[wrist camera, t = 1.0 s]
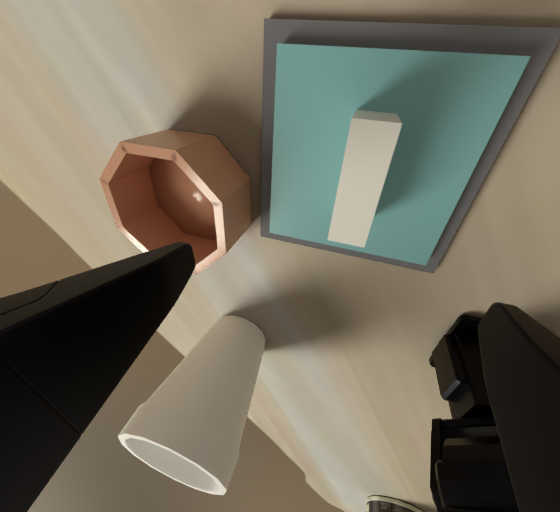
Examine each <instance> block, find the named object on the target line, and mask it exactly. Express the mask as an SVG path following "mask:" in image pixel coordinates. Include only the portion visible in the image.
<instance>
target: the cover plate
mask: <svg viewBox="0 0 560 512" xmlns="http://www.w3.org/2000/svg"><path fill="white" fill-rule="evenodd" d="M530 57H531V56H516V55H496V54H477V53H457V52H437V51H418V50H398V49H379V48H359V47H339V46H320V45H300V44H281V43H277V57H276V82H275V107H274V132H273V156H272V181H271V206H270V231H269V233H274V234H279V235H283V236H288V237H293V238H298V239H302V240H307V241H312V242H317V243H321V244H326V245H331V246H335V247H340V248H345V249H350V250H354V251H359V252H364V253H369V254H373V255H378V256H383V257H387V258H392V259H397V260H402V261H406V262H411V263H416V264H421V265H425V266H426V264H427V262H428V260H429V258H430V256H431V254H432V252H433V250H434V248H435V246H436V244H437V242H438V240H439V238H440V236H441V234H442V232H443V230H444V228H445V226H446V224H447V222H448V220H449V218H450V216H451V214H452V212H453V210H454V208H455V206H456V204H457V202H458V200H459V198H460V196H461V194H462V192H463V190H464V188H465V186H466V184H467V182H468V180H469V178H470V176H471V174H472V172H473V170H474V168H475V167H476V165H477V163H478V161H479V159H480V157H481V155H482V153H483V151H484V149H485V147H486V145H487V143H488V141H489V139H490V137H491V135H492V133H493V131H494V129H495V127H496V125H497V123H498V121H499V119H500V117H501V115H502V113H503V111H504V109H505V107H506V105H507V103H508V101H509V99H510V97H511V95H512V93H513V91H514V89H515V87H516V85H517V83H518V81H519V79H520V77H521V75H522V73H523V71H524V69H525V67H526V65H527V63H528V61H529V59H530Z"/></svg>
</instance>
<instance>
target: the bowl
mask: <svg viewBox="0 0 560 512" xmlns="http://www.w3.org/2000/svg"><path fill="white" fill-rule="evenodd" d="M100 182H101V185H102V188H103V190H104V193H105V196H106V199H107V201H108V204H109V207H110V210H111V212H112V215H113V218H114V221H115V224H116V226H117V228H118V229H119V230H120V231H121V232H122V233H123V234H124V235H125V236H126V237H127V238H128V239H130V240H131V241H132V242H133V243H134V244H135V245H136V246H137V247H138V248H139V249H140V250H141V251H142V252H143V253H144V252H148V251H151V250H154V249H157V248H160V247H163V246H166V245H169V244H172V243H175V242H185V243H189V244H191V246H192V248H193V253H194V257H195V262H196V266H195V269H194V271H193V273H194V274H198V273H199V272H201V271H202V270H204V269H205V268H206V267H208V266H209V265H211V264H212V263H214V262H215V261H216V260H218V259H219V258H221V257H222V256H224V255H225V254H226V253H227V252H228V251H229V250H230V248H231V247H232V246H233V245H234V244H235V243H236V241H237V240H238V239H239V238H240V237H241V235H242V234H243V233H244V232H245V231H246V230H247V228H248V227H249V226H250V225H251V178H250V177H249V176H248V175H247V174H246V172H245V171H244V170H243V169H242V168H241V166H240V165H239V164H238V163H237V161H236V160H235V159H234V158H233V157H232V155H231V154H230V153H229V152H228V151H227V149H226V148H225V147H224V146H223V144H222V143H221V142H220V141H219V140H218V138H217V137H216V136H214V135H207V134H200V133H192V132H185V131H178V130H170V129H168V130H164V131H160V132H156V133H152V134H148V135H144V136H140V137H136V138H133V139H129V140H125V141H121V142H119V144H118V146H117V148H116V149H115V151H114V153H113V155H112V157H111V159H110V160H109V162H108V164H107V166H106V168H105V170H104V171H103V173H102V175H101V177H100Z"/></svg>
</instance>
